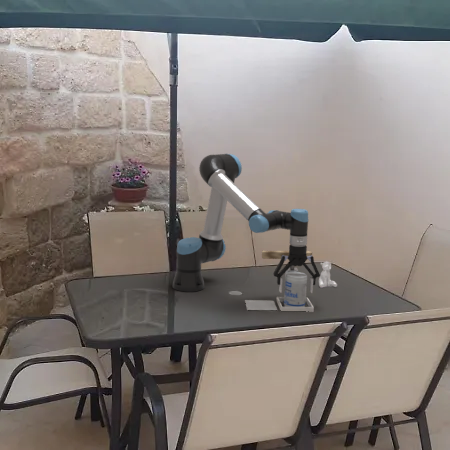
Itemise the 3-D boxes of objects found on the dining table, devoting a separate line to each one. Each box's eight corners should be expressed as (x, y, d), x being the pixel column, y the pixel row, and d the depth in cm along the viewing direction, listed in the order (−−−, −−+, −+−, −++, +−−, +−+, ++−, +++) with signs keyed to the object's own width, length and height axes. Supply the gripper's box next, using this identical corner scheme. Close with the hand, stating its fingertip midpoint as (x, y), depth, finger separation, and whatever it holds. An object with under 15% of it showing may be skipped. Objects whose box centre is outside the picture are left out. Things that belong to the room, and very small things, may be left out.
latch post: (285, 299, 274) (287, 270, 271) (284, 296, 279) (285, 267, 276) (296, 300, 274) (298, 270, 272) (294, 296, 279) (296, 267, 276)
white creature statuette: (320, 288, 294) (321, 264, 292) (312, 283, 302) (314, 260, 300) (337, 287, 297) (339, 263, 295) (329, 282, 305) (331, 259, 303)
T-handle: (309, 267, 276) (310, 251, 275) (311, 269, 273) (312, 252, 272) (261, 267, 274) (262, 250, 273) (262, 269, 271) (262, 252, 270)
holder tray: (280, 311, 258) (281, 307, 257) (276, 301, 272) (276, 296, 271) (313, 312, 259) (313, 307, 258) (307, 301, 273) (307, 297, 272)
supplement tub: (281, 308, 262) (282, 275, 260) (286, 301, 271) (288, 270, 268) (302, 311, 259) (304, 278, 256) (307, 304, 268) (309, 273, 265)
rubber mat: (247, 310, 258) (247, 309, 258) (244, 301, 270) (244, 300, 270) (277, 310, 258) (277, 310, 258) (273, 301, 271) (273, 300, 271)
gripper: (270, 246, 256) (268, 294, 259) (328, 247, 257) (325, 294, 261) (268, 242, 263) (266, 289, 267) (324, 243, 264) (322, 289, 268)
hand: (295, 292), depth 264 cm, fingers open, 13 cm apart
